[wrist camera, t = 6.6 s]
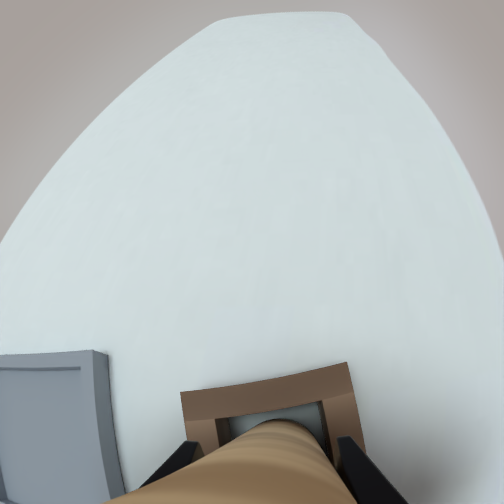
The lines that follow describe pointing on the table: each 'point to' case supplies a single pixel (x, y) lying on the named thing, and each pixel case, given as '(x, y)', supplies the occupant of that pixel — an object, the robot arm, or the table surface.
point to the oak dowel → (253, 473)
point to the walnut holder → (275, 406)
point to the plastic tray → (57, 430)
